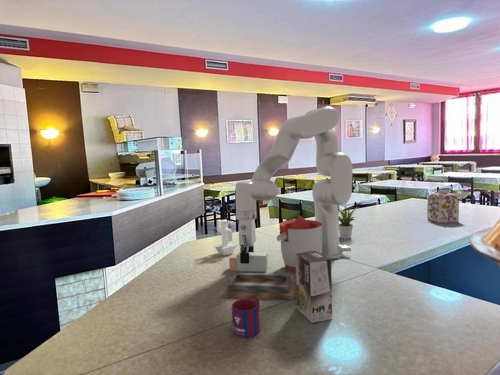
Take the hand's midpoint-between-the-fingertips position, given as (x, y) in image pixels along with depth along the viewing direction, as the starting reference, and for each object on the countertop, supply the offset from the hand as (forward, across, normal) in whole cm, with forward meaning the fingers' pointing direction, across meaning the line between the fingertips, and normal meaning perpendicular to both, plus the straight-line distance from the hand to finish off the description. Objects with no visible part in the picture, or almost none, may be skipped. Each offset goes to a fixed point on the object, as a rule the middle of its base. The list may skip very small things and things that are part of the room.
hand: (247, 259), depth 127 cm
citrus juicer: (+4, +2, -20) cm, 20 cm away
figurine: (+4, +19, +14) cm, 24 cm away
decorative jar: (+2, +86, -98) cm, 131 cm away
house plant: (+3, +49, -42) cm, 65 cm away
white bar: (+4, 0, 0) cm, 4 cm away
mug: (+4, -42, -8) cm, 43 cm away
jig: (+4, -18, -8) cm, 20 cm away
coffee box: (+4, -33, -24) cm, 41 cm away
